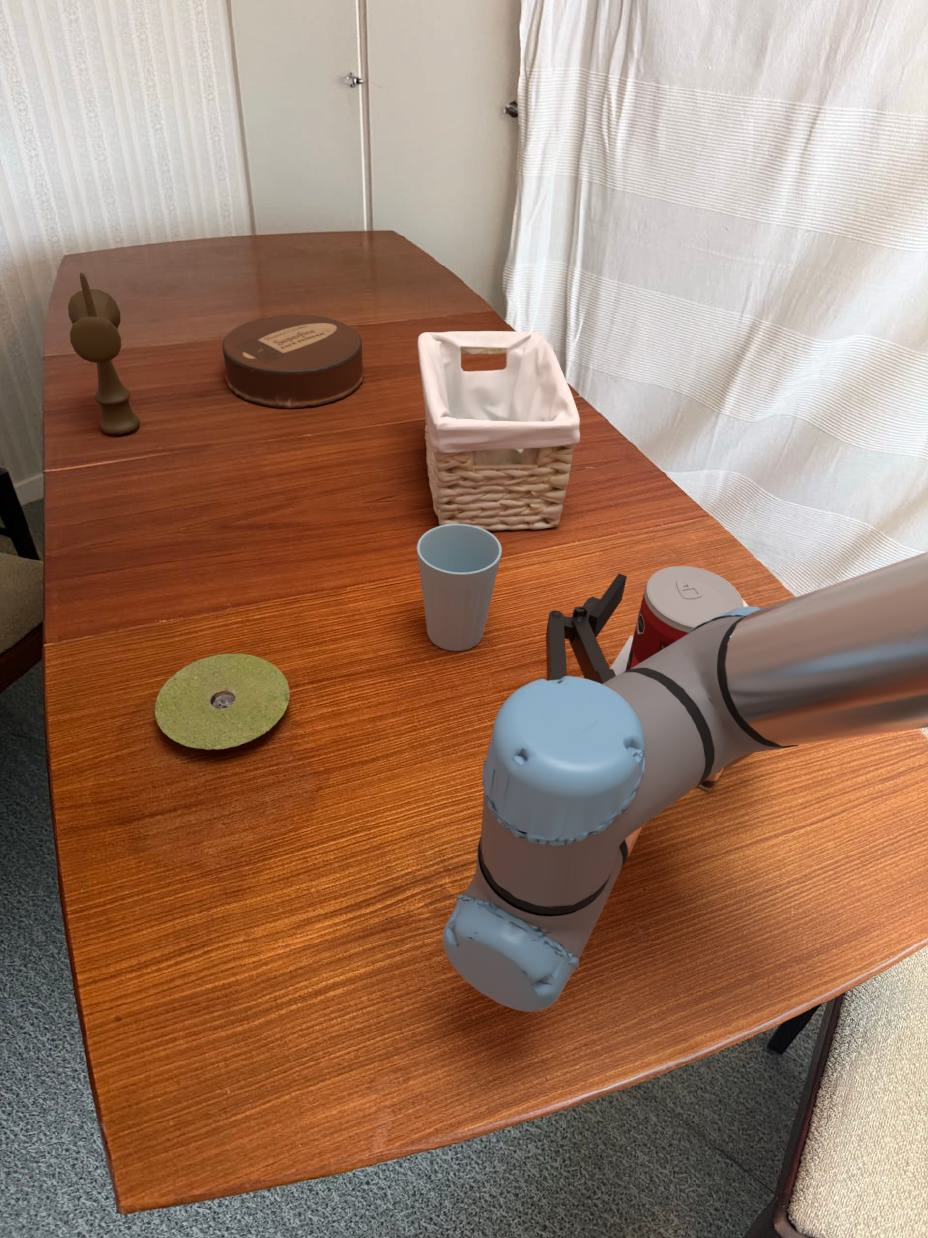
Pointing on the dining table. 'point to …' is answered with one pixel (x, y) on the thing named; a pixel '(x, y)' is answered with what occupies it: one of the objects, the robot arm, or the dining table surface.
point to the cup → (457, 583)
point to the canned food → (678, 608)
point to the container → (293, 360)
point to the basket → (497, 430)
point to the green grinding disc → (222, 701)
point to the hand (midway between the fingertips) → (695, 613)
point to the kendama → (102, 354)
